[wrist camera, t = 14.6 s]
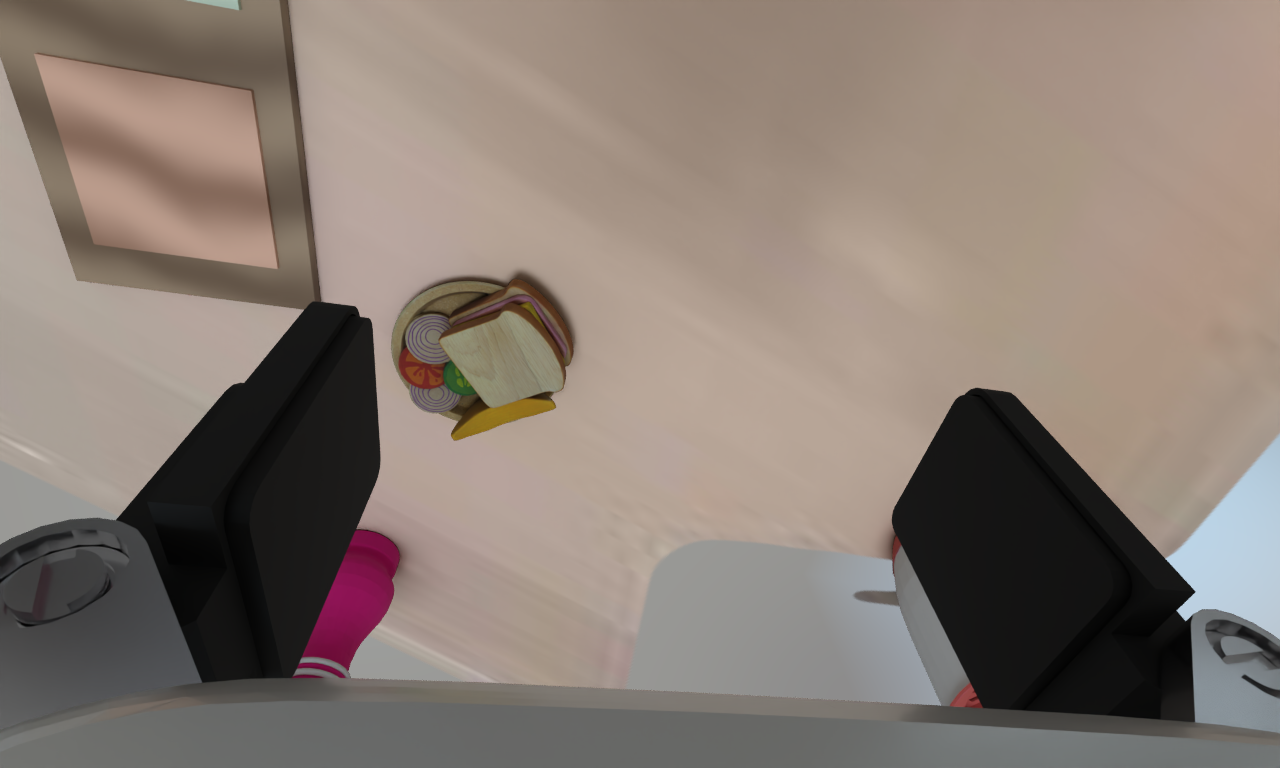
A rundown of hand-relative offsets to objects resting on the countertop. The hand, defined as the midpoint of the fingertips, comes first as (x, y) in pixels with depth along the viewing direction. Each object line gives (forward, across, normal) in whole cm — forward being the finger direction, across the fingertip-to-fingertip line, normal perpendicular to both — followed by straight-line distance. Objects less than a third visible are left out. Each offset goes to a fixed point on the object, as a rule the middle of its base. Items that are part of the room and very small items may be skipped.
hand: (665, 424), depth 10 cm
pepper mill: (+34, +17, +44) cm, 58 cm away
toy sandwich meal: (+34, +7, +20) cm, 40 cm away
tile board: (+33, +26, +2) cm, 42 cm away
